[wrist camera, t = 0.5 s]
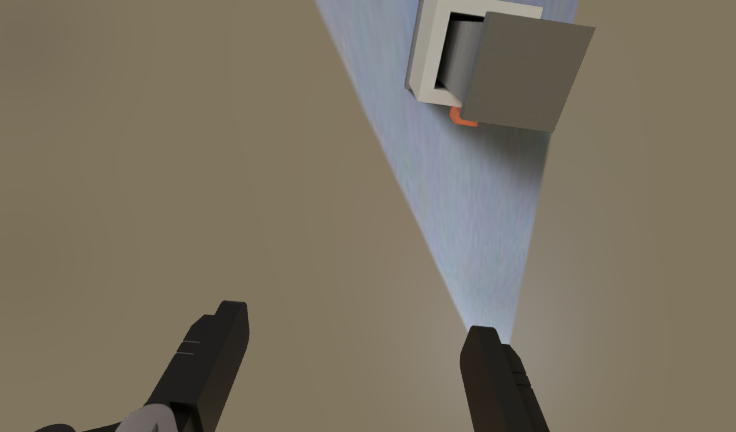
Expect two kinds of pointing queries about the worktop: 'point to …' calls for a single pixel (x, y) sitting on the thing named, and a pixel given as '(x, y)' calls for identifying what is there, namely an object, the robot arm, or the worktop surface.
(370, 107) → the worktop surface
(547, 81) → the column
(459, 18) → the stand
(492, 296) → the worktop surface
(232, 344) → the robot arm
